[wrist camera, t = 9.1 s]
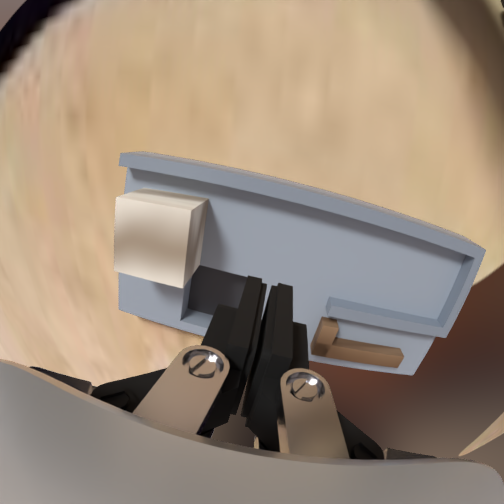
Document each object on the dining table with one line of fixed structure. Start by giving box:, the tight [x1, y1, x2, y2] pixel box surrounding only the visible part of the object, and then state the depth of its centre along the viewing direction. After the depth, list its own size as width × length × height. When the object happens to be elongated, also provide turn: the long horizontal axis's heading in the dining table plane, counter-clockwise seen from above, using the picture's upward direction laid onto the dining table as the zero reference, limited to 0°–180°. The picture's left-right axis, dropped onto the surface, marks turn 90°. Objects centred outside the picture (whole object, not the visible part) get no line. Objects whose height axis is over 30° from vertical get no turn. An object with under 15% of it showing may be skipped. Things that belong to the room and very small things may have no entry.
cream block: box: [114, 188, 209, 288], centre depth 21 cm, size 6×6×4 cm
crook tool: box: [310, 317, 404, 368], centre depth 24 cm, size 3×9×1 cm, turn 77°
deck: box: [119, 152, 486, 375], centre depth 24 cm, size 15×31×4 cm, turn 77°
